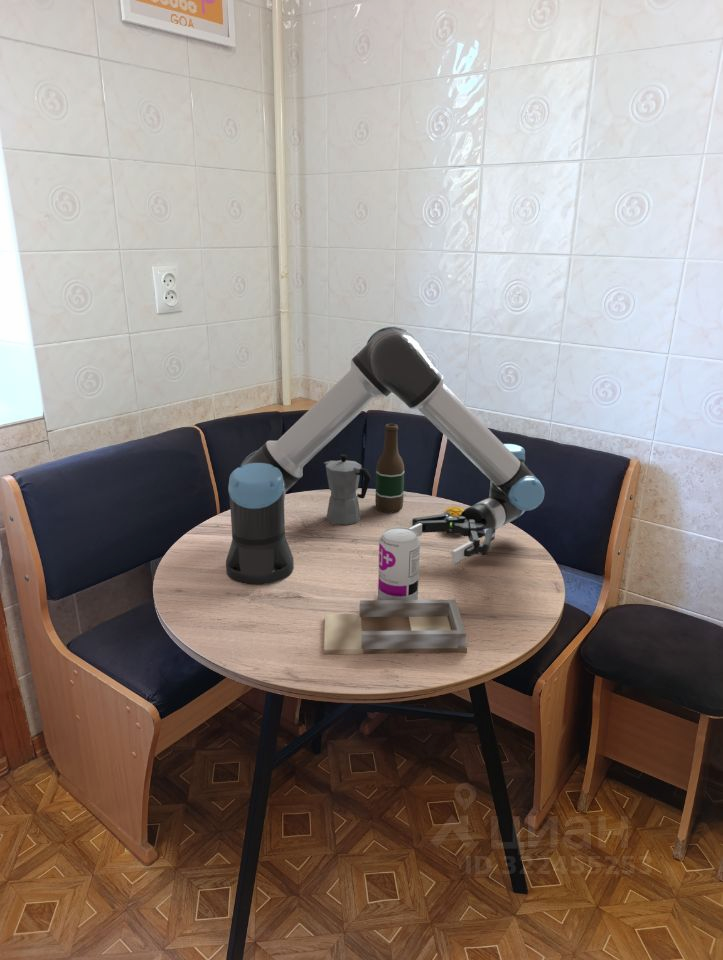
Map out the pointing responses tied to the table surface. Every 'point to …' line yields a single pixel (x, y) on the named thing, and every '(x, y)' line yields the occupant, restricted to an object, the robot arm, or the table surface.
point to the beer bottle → (390, 474)
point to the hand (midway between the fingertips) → (426, 547)
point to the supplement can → (398, 564)
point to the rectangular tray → (397, 628)
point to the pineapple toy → (454, 512)
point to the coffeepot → (345, 490)
